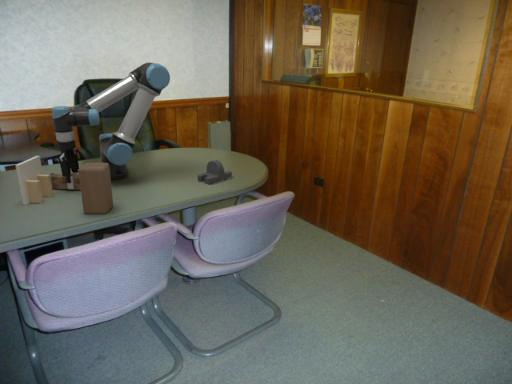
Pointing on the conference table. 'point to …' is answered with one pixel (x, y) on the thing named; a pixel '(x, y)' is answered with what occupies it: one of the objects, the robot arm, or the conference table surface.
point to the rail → (64, 181)
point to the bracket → (214, 173)
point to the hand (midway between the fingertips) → (73, 187)
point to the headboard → (33, 181)
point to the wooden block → (95, 188)
